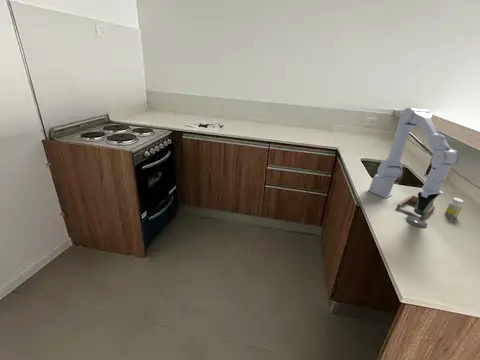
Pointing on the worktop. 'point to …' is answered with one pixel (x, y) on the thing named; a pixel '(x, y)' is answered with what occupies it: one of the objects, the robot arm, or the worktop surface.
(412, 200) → the frame
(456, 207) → the supplement bottle
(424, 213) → the tin can
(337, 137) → the worktop surface
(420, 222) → the coaster
